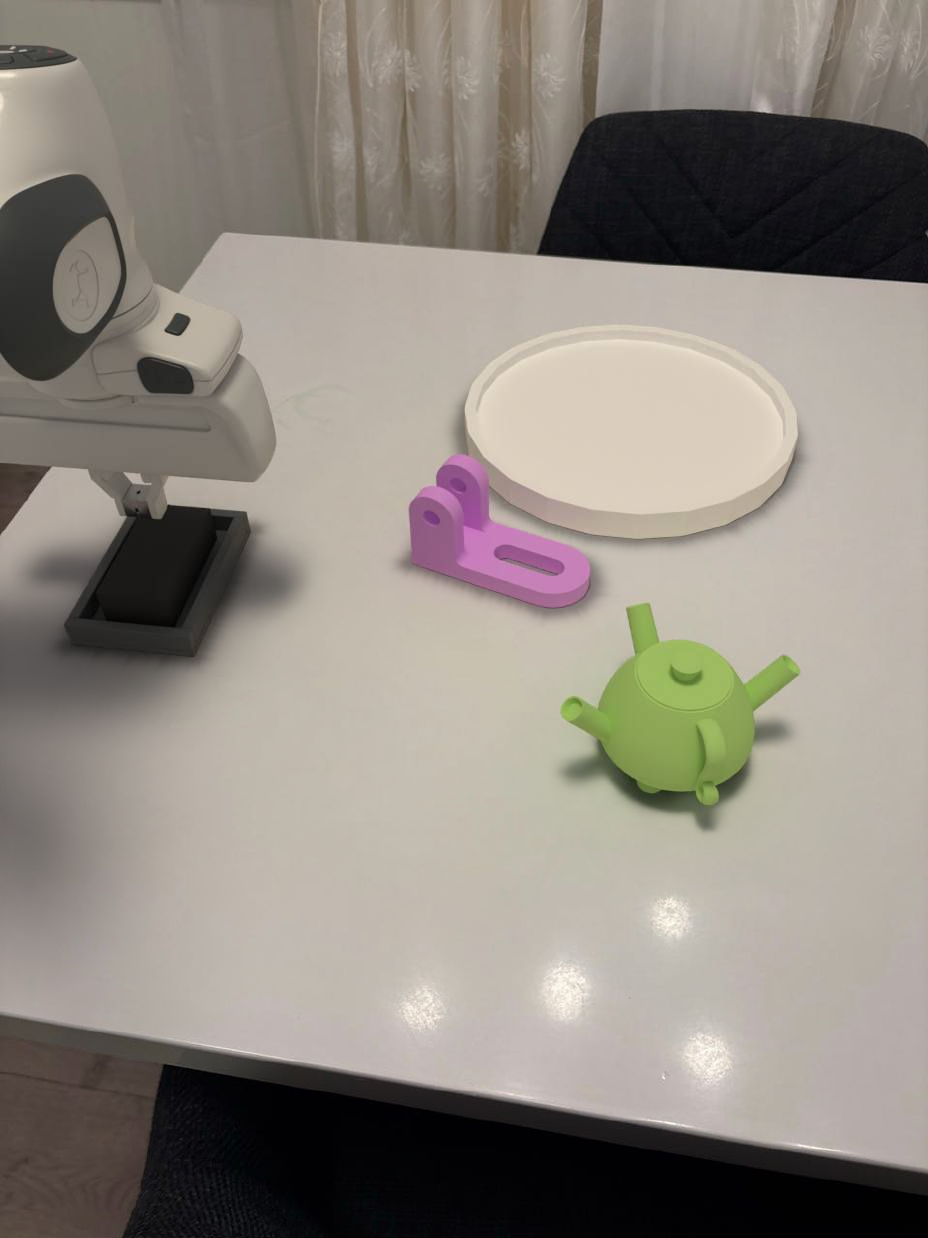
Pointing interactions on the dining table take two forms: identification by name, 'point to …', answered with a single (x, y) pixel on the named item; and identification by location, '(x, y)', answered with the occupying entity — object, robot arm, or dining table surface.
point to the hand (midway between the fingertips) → (144, 512)
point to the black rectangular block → (158, 567)
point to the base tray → (190, 628)
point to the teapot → (677, 712)
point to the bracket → (489, 541)
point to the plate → (630, 431)
